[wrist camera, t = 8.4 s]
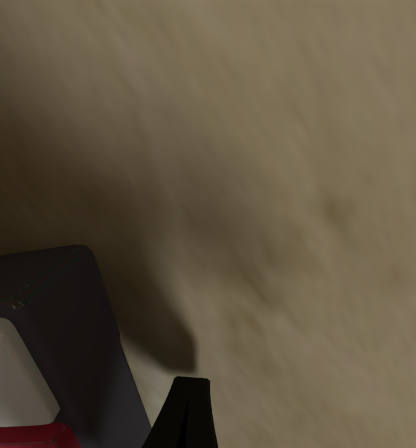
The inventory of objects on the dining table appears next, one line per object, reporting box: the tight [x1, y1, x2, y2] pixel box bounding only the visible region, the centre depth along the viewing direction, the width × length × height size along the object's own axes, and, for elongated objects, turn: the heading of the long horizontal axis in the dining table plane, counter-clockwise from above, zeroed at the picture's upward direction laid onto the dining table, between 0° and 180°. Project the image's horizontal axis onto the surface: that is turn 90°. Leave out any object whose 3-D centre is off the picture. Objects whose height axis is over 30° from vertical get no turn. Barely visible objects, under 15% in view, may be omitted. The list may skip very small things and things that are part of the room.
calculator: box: [0, 245, 152, 448], centre depth 10 cm, size 11×4×15 cm
